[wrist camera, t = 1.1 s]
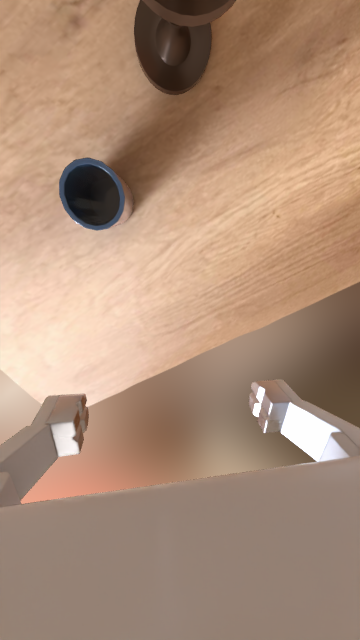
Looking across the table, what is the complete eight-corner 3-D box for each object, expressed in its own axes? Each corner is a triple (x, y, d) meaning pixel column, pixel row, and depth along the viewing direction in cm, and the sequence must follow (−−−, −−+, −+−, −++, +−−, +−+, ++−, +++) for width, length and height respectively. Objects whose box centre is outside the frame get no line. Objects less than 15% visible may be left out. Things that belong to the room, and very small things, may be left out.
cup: (114, 164, 31) (95, 142, 21) (142, 208, 34) (137, 207, 24) (78, 193, 32) (44, 184, 22) (108, 233, 35) (90, 241, 25)
